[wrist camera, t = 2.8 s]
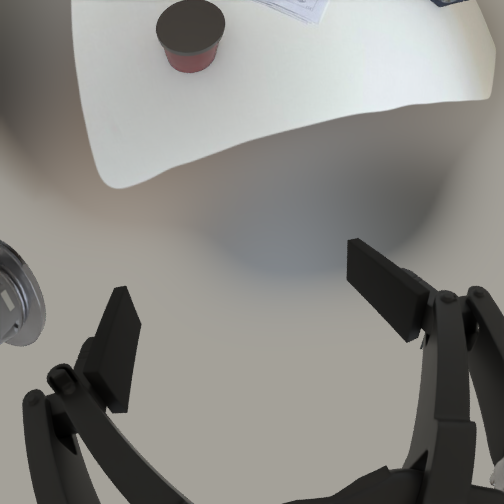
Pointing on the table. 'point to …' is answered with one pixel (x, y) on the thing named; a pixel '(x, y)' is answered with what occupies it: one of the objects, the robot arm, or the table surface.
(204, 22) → the canister
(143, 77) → the table surface
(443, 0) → the vhs cassette tape
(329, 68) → the table surface
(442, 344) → the robot arm
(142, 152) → the table surface
